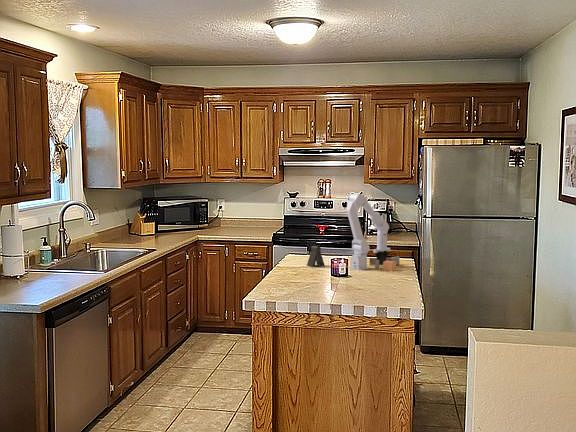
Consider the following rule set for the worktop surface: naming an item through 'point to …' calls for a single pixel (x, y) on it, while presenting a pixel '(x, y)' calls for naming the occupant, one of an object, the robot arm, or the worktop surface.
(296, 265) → the worktop surface
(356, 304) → the worktop surface
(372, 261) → the gate door
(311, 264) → the phone stand
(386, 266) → the terracotta rectangular block
